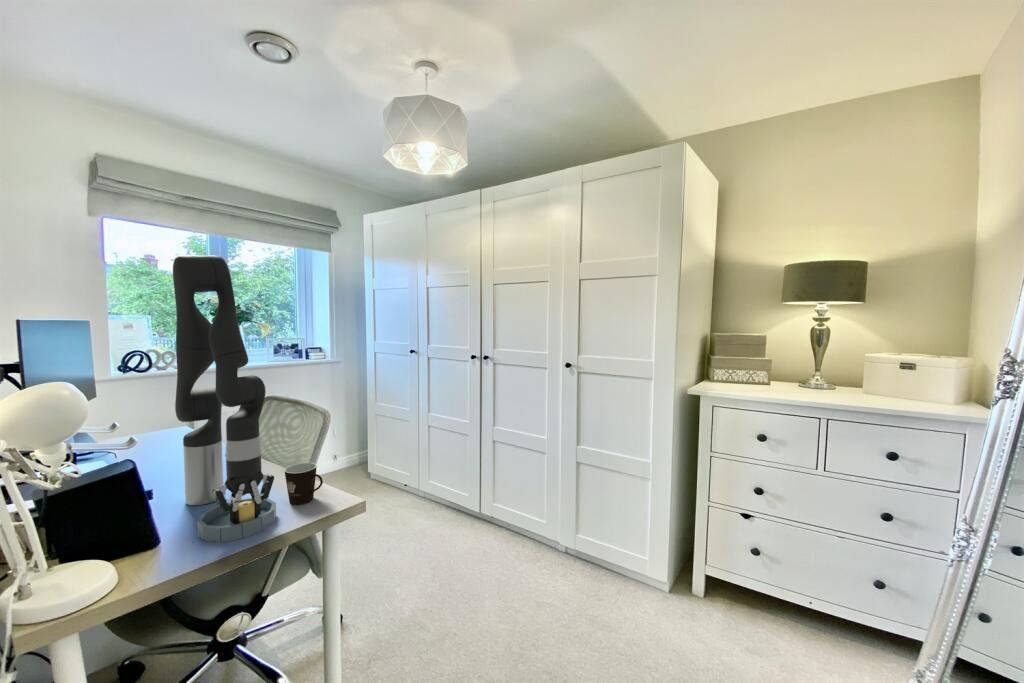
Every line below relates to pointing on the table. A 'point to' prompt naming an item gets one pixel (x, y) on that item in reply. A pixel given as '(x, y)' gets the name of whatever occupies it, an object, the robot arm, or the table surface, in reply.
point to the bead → (246, 511)
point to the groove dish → (221, 529)
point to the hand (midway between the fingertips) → (245, 520)
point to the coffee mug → (301, 482)
